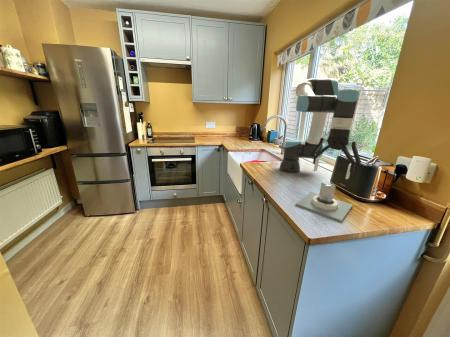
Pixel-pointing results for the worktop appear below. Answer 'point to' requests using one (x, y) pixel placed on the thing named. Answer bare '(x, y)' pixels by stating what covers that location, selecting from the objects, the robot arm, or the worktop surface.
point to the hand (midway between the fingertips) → (330, 174)
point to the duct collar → (326, 193)
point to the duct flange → (325, 207)
